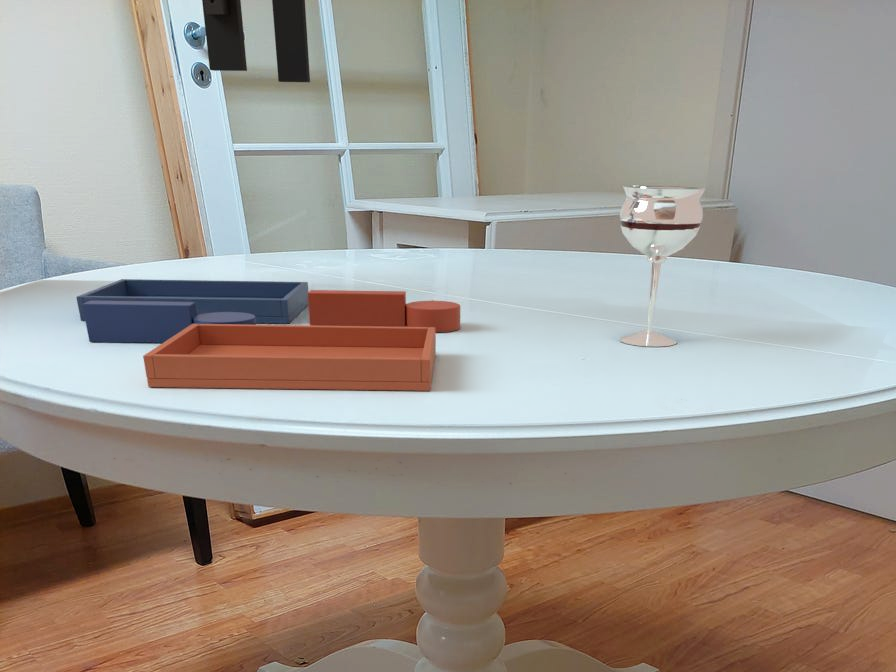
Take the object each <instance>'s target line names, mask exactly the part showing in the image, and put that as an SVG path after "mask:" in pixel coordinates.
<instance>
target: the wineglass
mask: <svg viewBox="0 0 896 672" xmlns="http://www.w3.org/2000/svg"><path fill="white" fill-rule="evenodd" d="M622 188H623V190H624V194H625V200H624V202H623V204H621V207H620V211H619V225H620V229H621V233H622V235H623V236H624V237H625V239H626V240H627V242H629V243H630V245H631V247H633V248H634V249H636V250H637V251H639V252H640V253H641V254H643V255H645V256H646V260H647V262H649V263H650V279H649V291H648V292H649V294H648V307H647V309H648V310H647V311H648V312H647V323H646V324H647V325H646V330H644V331H641V332H637V333H633V334H630V335H626V336H623V337H620V338H619V341H620V342H621V343H623V344H626V345H631V346H638V347H654V348H655V347H668V346H669V347H670V346H674V345H676V344H677V342H678V341H676V340H675V339H673V338H670V337H668V336H666V335H663V334H660V333H657V332H656V331H653V330H652V328H653V321H654V314H655V308H656V300H657V293H658V287H659V280H660V273H661V267H662V263H665V262H666V261H667V257H669V256H671V255H673V254H675V253H677V252H680V251H681V250H683V249H684V248H685V247H686V246H687V245H688V244H689V243H690V242H691V241H692V240H693V239H694V238H695V237H696V236H697V235H698V233H699V231H700V229H701V226H702V224H703V219H704V207H703V205H702V203H701V198H702V197H703V194H704V193H705V191H706V189H707V188H706V187H700V186H699V187H697V186H696V187H695V186H679V185H678V186H677V185H623V186H622Z"/></svg>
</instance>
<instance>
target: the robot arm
mask: <svg viewBox="0 0 896 672" xmlns="http://www.w3.org/2000/svg"><path fill="white" fill-rule="evenodd" d="M201 2H202V3H201V4H202V12H203V22H204V30H205V39H206V40H205V41H206V48H207V55H208V56H207V58H208V67H209V70H210V71H214V72H215V71H216V72H219V71H220V72H248V67H247V55H246V44H245V35H244V24H243V11H242V0H201ZM271 3H272V17H273V28H274V31H273V32H274V41H275V42H274V43H275V55H276V67H277V68H276V69H277V81H278V82H279V83H311V74H310V73H311V72H310V59H309V45H308V44H309V42H308V27H307V13H306V10H307V9H306V0H271Z"/></svg>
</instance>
